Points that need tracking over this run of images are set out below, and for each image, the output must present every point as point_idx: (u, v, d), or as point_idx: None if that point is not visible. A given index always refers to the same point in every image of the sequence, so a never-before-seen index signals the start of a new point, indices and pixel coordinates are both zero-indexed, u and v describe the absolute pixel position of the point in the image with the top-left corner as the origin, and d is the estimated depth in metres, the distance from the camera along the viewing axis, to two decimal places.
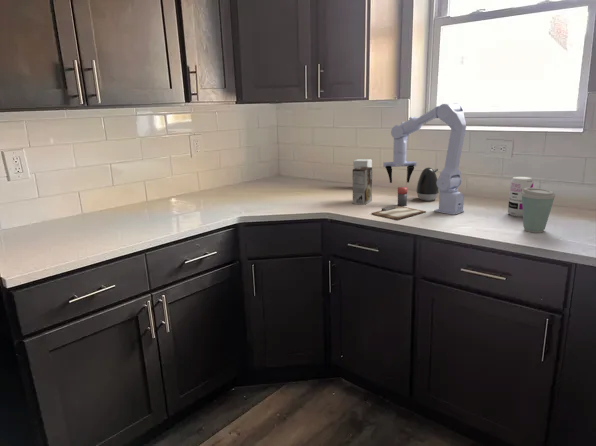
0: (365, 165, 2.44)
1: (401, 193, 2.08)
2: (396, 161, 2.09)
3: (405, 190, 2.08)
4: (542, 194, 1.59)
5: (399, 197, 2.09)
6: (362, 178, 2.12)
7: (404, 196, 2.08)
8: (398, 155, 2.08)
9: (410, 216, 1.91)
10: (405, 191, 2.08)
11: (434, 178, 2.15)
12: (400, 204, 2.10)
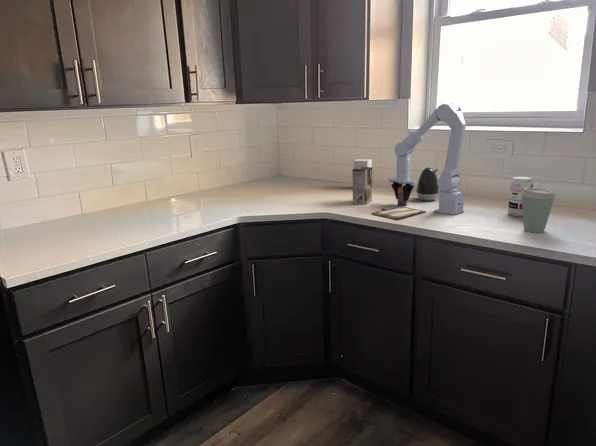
0: (366, 165, 2.44)
1: (401, 193, 2.08)
2: (396, 178, 2.08)
3: None
4: (542, 194, 1.59)
5: (399, 197, 2.09)
6: (362, 178, 2.12)
7: None
8: (397, 172, 2.07)
9: (410, 216, 1.91)
10: None
11: (434, 178, 2.15)
12: (400, 204, 2.10)
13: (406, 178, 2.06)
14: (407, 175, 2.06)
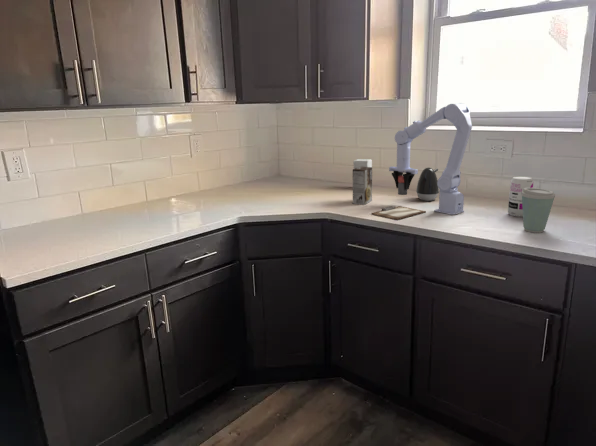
0: (366, 165, 2.44)
1: (401, 182, 2.07)
2: None
3: None
4: (542, 194, 1.59)
5: (399, 186, 2.08)
6: (362, 178, 2.12)
7: None
8: (397, 161, 2.05)
9: (410, 216, 1.91)
10: None
11: (434, 178, 2.15)
12: (400, 193, 2.08)
13: (406, 166, 2.04)
14: (407, 163, 2.04)
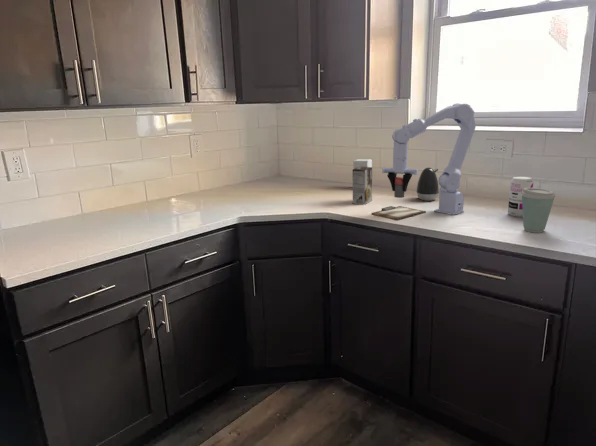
0: (365, 165, 2.44)
1: (400, 183, 1.93)
2: (394, 167, 1.92)
3: None
4: (542, 194, 1.59)
5: (398, 188, 1.93)
6: (362, 178, 2.12)
7: None
8: (395, 161, 1.90)
9: (410, 216, 1.91)
10: None
11: (434, 178, 2.15)
12: (399, 195, 1.94)
13: (405, 167, 1.91)
14: (406, 164, 1.91)
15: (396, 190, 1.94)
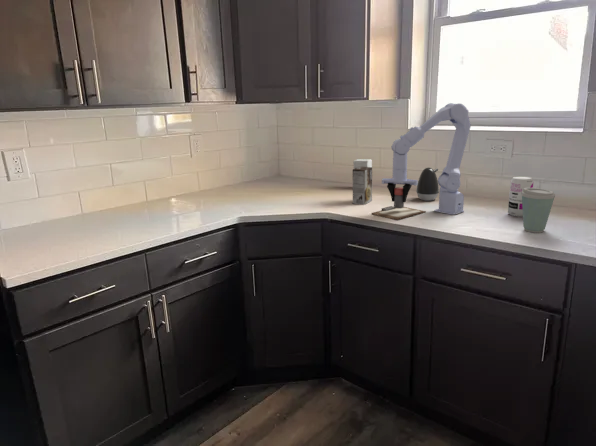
0: (365, 165, 2.44)
1: (400, 194, 1.93)
2: (393, 178, 1.92)
3: None
4: (542, 194, 1.59)
5: (398, 199, 1.94)
6: (362, 178, 2.12)
7: None
8: (395, 172, 1.90)
9: (410, 216, 1.91)
10: None
11: (434, 178, 2.15)
12: (399, 206, 1.94)
13: (405, 178, 1.91)
14: (406, 174, 1.91)
15: (396, 201, 1.94)
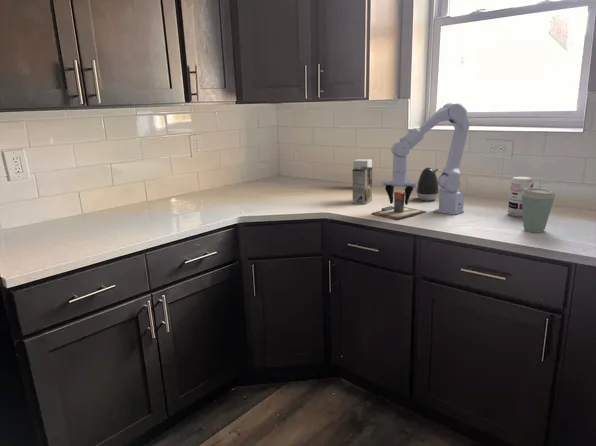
0: (365, 165, 2.44)
1: (400, 199, 1.93)
2: (393, 181, 1.92)
3: (403, 195, 1.93)
4: (542, 194, 1.59)
5: (398, 203, 1.94)
6: (362, 178, 2.12)
7: (403, 202, 1.94)
8: (395, 174, 1.91)
9: (410, 216, 1.91)
10: (404, 196, 1.94)
11: (434, 178, 2.15)
12: (399, 210, 1.95)
13: (405, 180, 1.91)
14: (406, 177, 1.91)
15: (396, 205, 1.95)
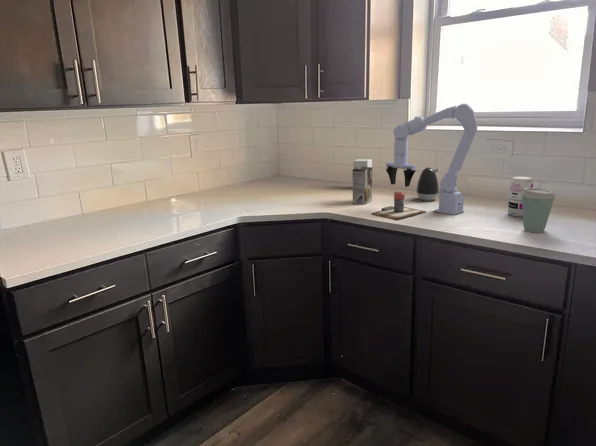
0: (365, 165, 2.44)
1: (400, 199, 1.93)
2: (394, 162, 2.00)
3: (403, 195, 1.94)
4: (542, 194, 1.59)
5: (398, 203, 1.94)
6: (362, 178, 2.12)
7: (403, 201, 1.94)
8: (395, 156, 1.98)
9: (410, 216, 1.91)
10: (403, 196, 1.94)
11: (434, 178, 2.15)
12: (399, 210, 1.95)
13: (404, 162, 1.97)
14: (405, 159, 1.97)
15: (396, 205, 1.95)
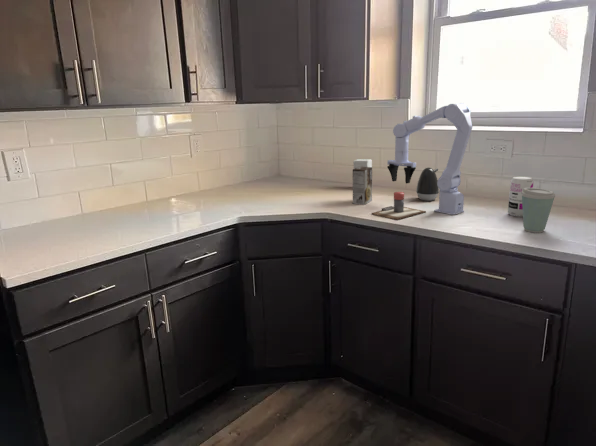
0: (366, 165, 2.44)
1: (400, 199, 1.93)
2: (395, 160, 2.07)
3: (403, 195, 1.93)
4: (542, 194, 1.59)
5: (397, 203, 1.94)
6: (362, 178, 2.12)
7: (402, 201, 1.94)
8: (395, 154, 2.05)
9: (410, 216, 1.91)
10: (403, 196, 1.94)
11: (434, 178, 2.15)
12: (399, 211, 1.95)
13: (405, 160, 2.04)
14: (406, 157, 2.04)
15: (396, 205, 1.95)
